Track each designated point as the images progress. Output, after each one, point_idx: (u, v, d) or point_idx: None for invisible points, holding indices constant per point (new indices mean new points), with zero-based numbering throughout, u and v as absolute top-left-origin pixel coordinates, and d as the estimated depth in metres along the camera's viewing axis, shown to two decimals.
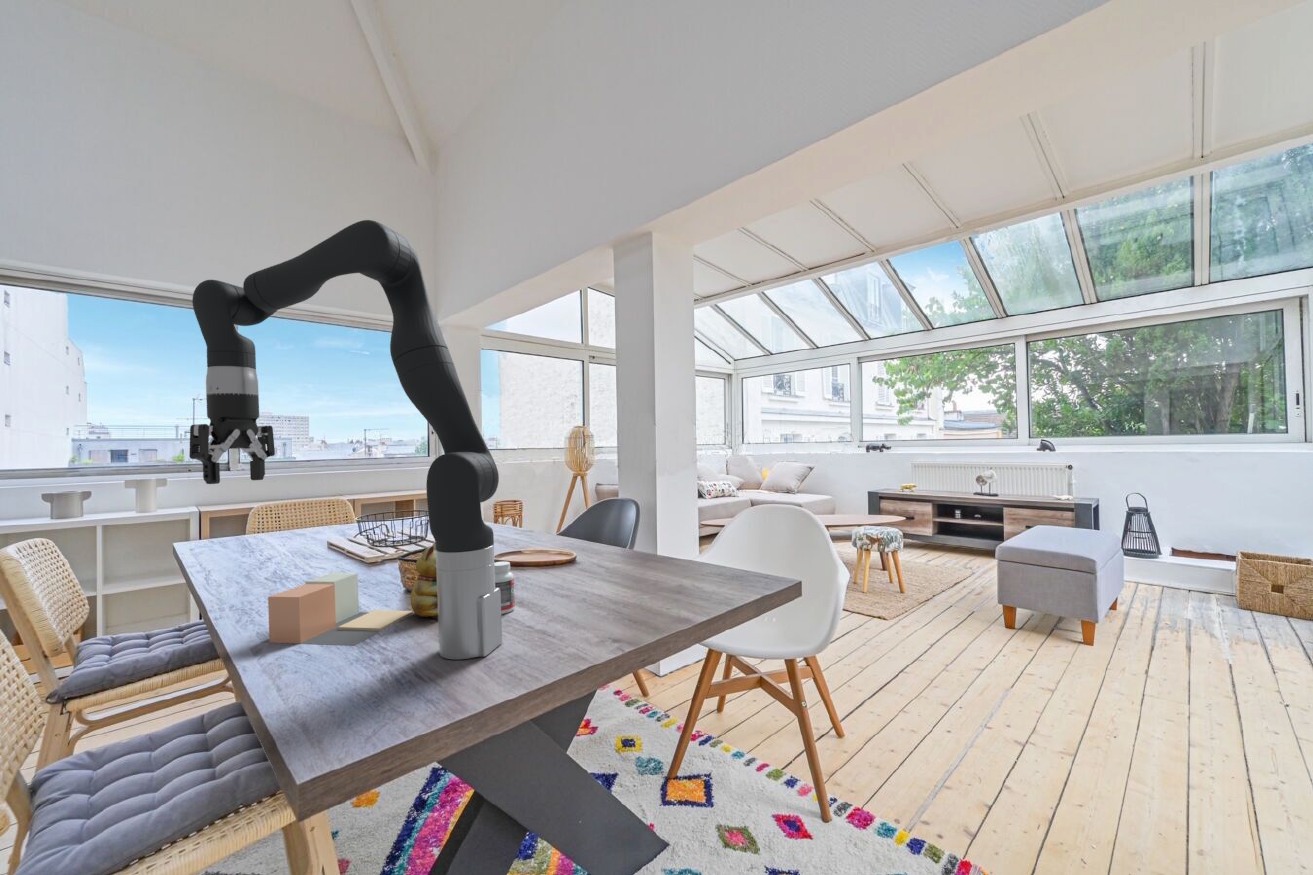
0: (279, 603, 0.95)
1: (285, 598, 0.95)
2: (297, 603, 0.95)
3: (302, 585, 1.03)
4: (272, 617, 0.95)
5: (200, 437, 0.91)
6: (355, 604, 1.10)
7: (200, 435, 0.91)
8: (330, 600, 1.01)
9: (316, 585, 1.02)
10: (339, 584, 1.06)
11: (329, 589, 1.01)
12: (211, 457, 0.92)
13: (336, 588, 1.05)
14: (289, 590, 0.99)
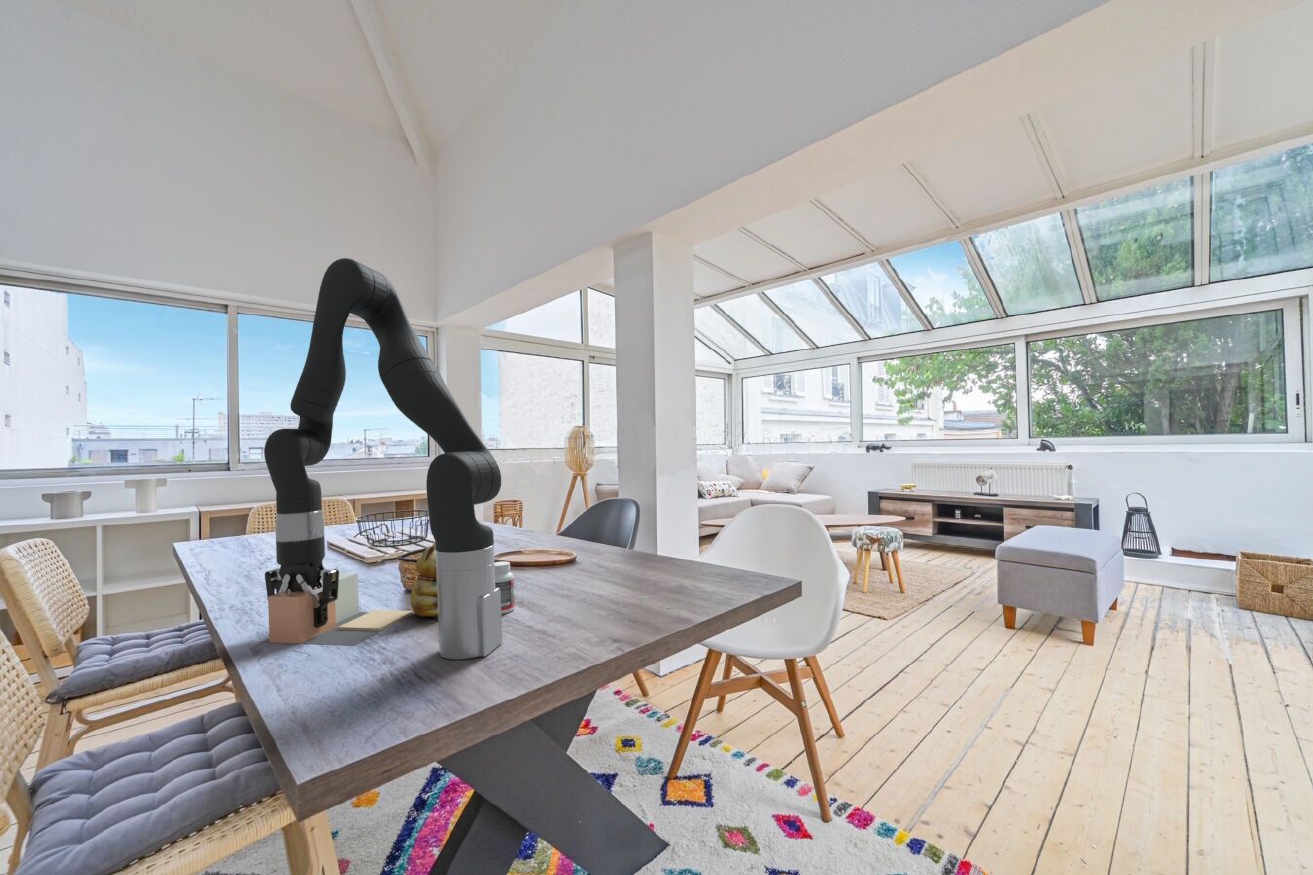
0: (279, 603, 0.95)
1: (285, 598, 0.95)
2: (297, 603, 0.95)
3: None
4: (272, 617, 0.95)
5: (337, 581, 0.99)
6: (355, 604, 1.10)
7: (337, 580, 0.99)
8: None
9: None
10: (339, 584, 1.06)
11: None
12: None
13: None
14: (289, 590, 0.99)
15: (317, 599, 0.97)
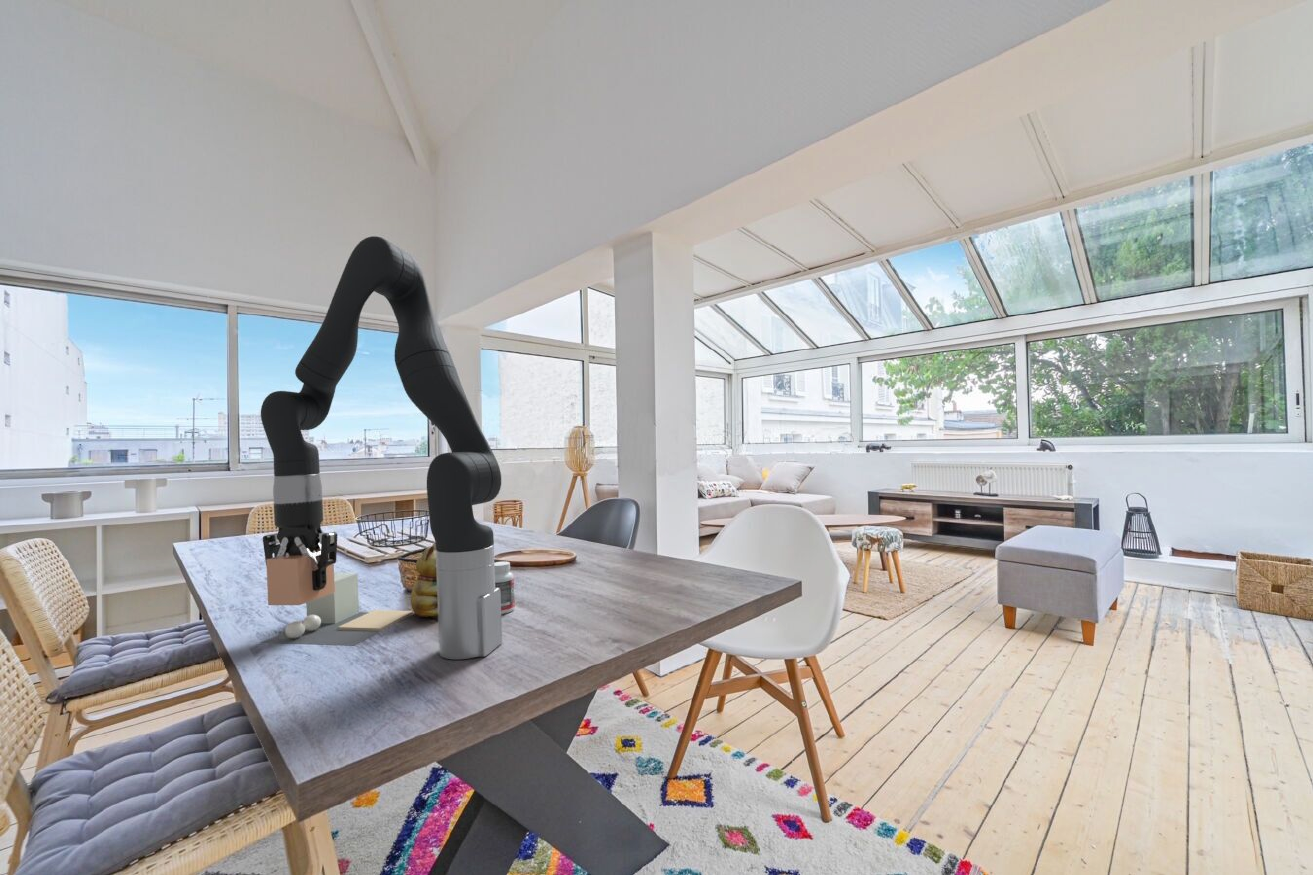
0: (277, 565, 0.95)
1: (283, 560, 0.95)
2: (296, 565, 0.94)
3: None
4: (270, 580, 0.95)
5: (335, 544, 0.99)
6: (355, 604, 1.10)
7: (335, 543, 0.99)
8: None
9: (314, 550, 1.02)
10: (339, 584, 1.06)
11: None
12: None
13: (336, 588, 1.05)
14: None
15: (316, 562, 0.97)
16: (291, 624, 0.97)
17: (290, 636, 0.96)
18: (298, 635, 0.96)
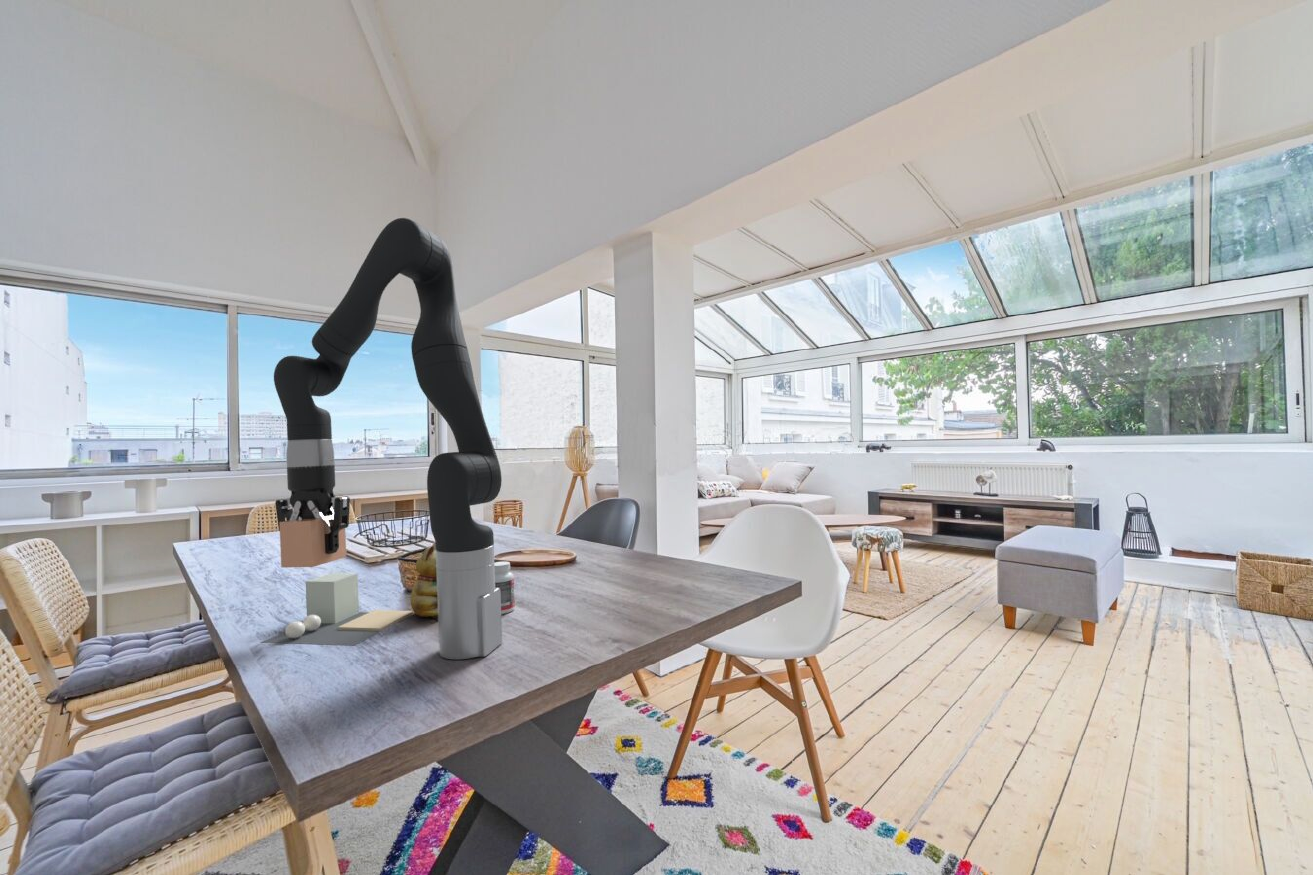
0: (291, 528, 0.96)
1: (297, 523, 0.96)
2: (309, 527, 0.95)
3: None
4: (284, 542, 0.96)
5: (348, 509, 1.00)
6: (355, 604, 1.10)
7: (348, 507, 1.00)
8: None
9: (326, 515, 1.03)
10: (339, 584, 1.06)
11: None
12: None
13: (336, 588, 1.05)
14: None
15: (328, 525, 0.98)
16: (291, 624, 0.97)
17: (290, 636, 0.96)
18: (298, 635, 0.96)
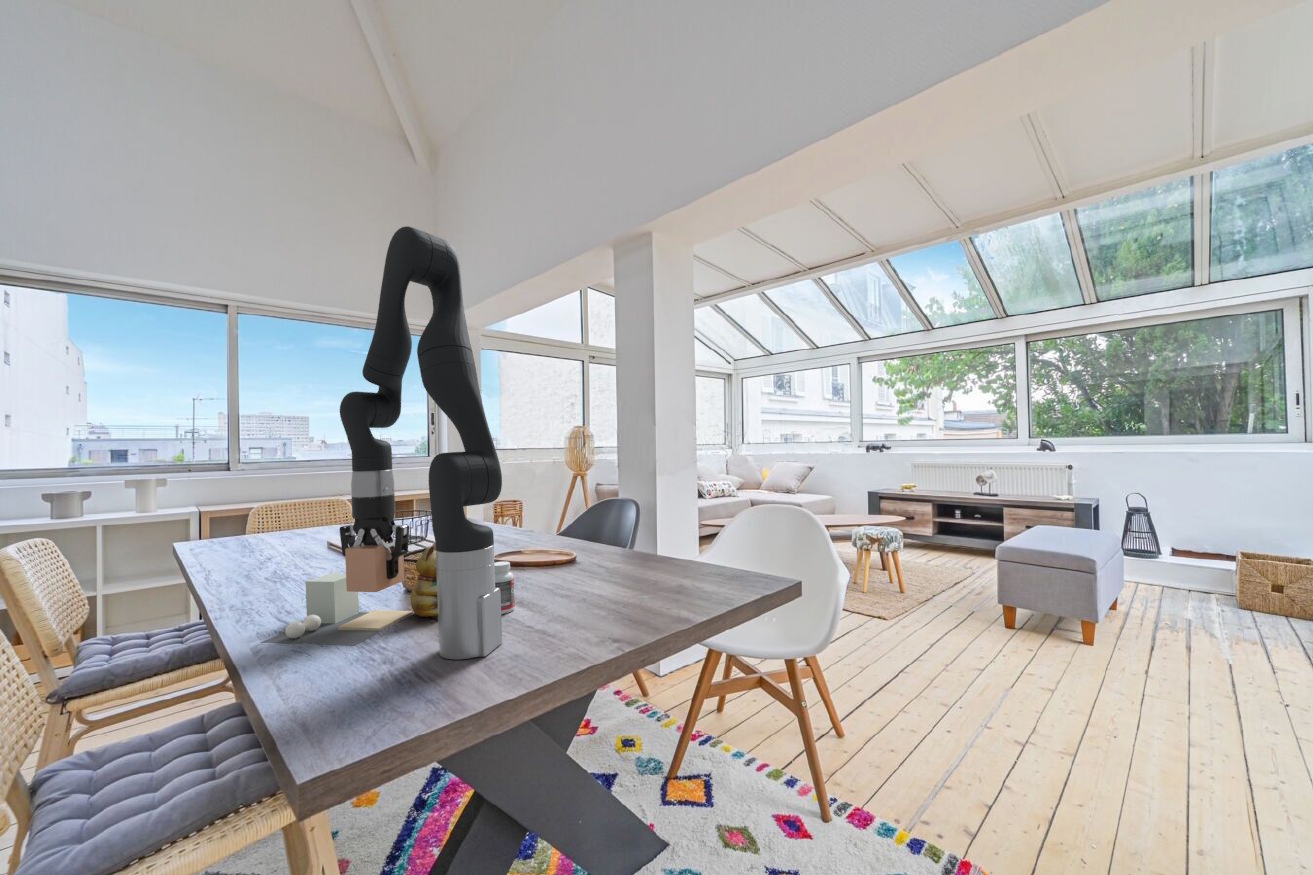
0: (356, 555, 1.01)
1: (362, 550, 1.01)
2: (373, 555, 1.01)
3: None
4: (349, 568, 1.02)
5: (407, 536, 1.05)
6: (355, 604, 1.10)
7: (407, 535, 1.05)
8: None
9: None
10: (339, 584, 1.06)
11: None
12: None
13: (336, 588, 1.05)
14: (362, 544, 1.06)
15: (390, 552, 1.04)
16: (291, 624, 0.97)
17: (290, 636, 0.96)
18: (298, 635, 0.96)
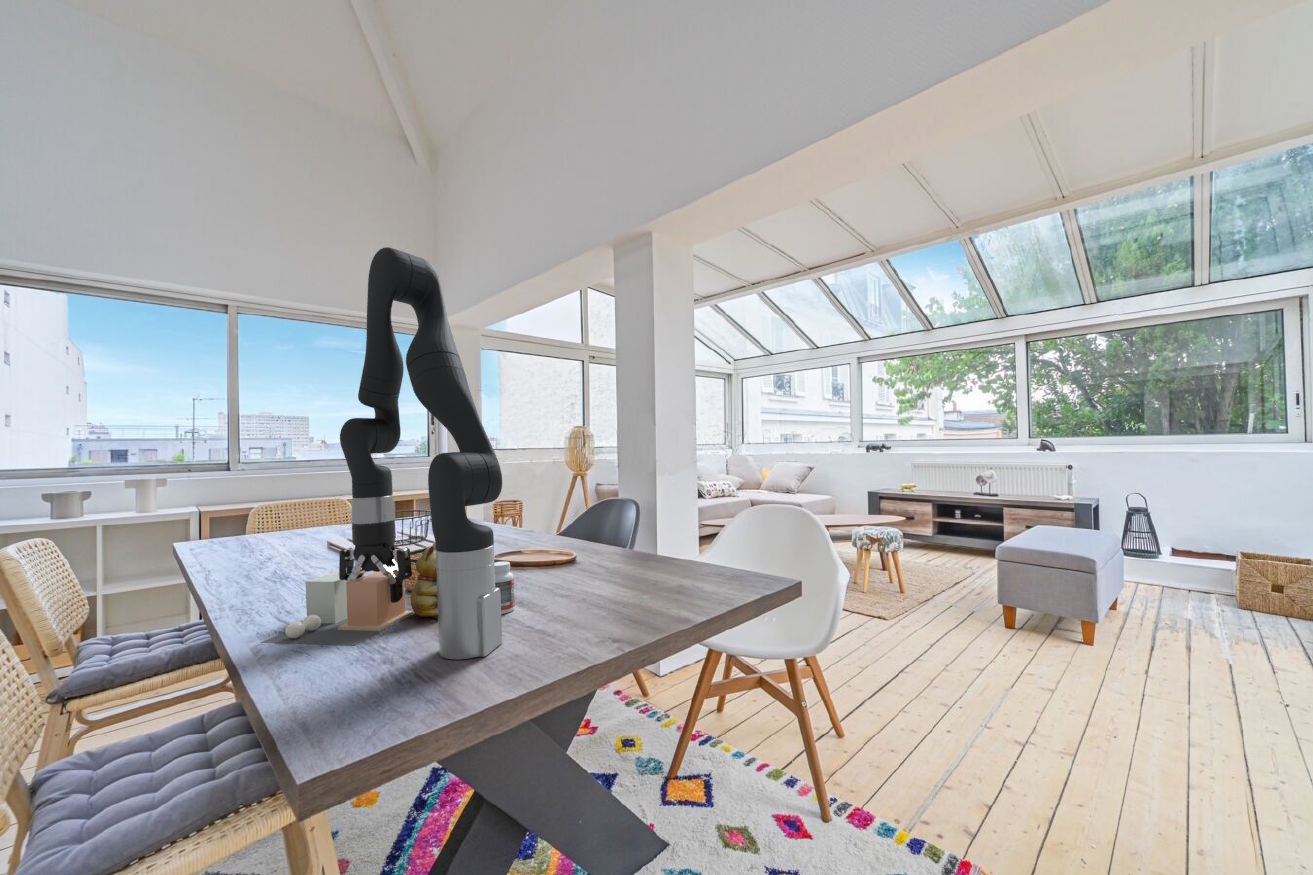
0: (357, 588, 1.01)
1: (363, 584, 1.01)
2: (374, 589, 1.01)
3: None
4: (350, 602, 1.02)
5: (409, 559, 1.05)
6: None
7: (409, 557, 1.05)
8: None
9: None
10: (339, 584, 1.06)
11: None
12: None
13: (336, 588, 1.05)
14: (363, 577, 1.05)
15: (393, 576, 1.03)
16: (291, 624, 0.97)
17: (290, 636, 0.96)
18: (298, 635, 0.96)
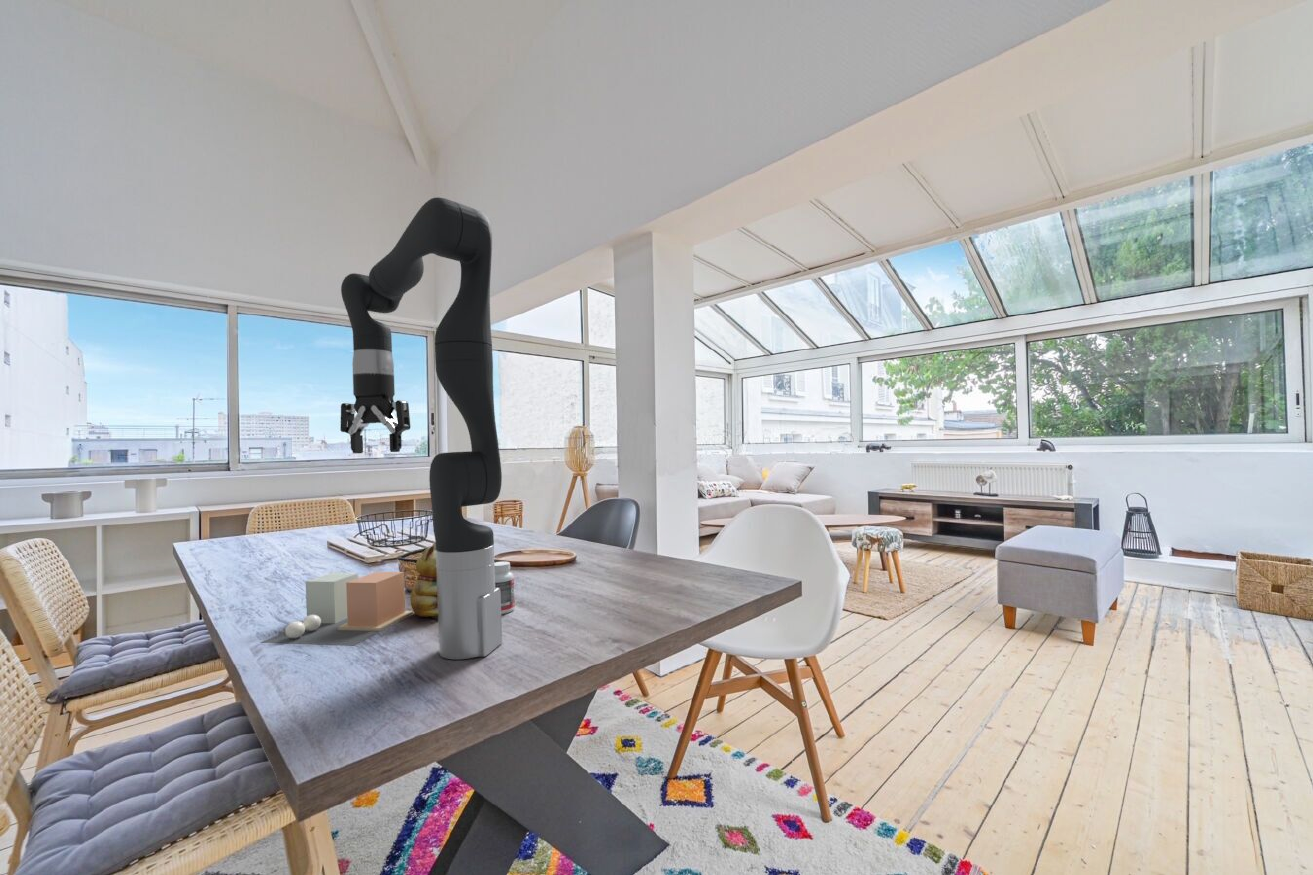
0: (357, 588, 1.01)
1: (363, 584, 1.01)
2: (374, 589, 1.01)
3: None
4: (350, 602, 1.02)
5: (408, 412, 1.09)
6: None
7: (408, 410, 1.09)
8: (400, 586, 1.08)
9: (387, 572, 1.08)
10: (339, 584, 1.06)
11: (400, 576, 1.08)
12: None
13: (336, 588, 1.05)
14: (363, 577, 1.05)
15: (392, 425, 1.08)
16: (291, 624, 0.97)
17: (290, 636, 0.96)
18: (298, 635, 0.96)
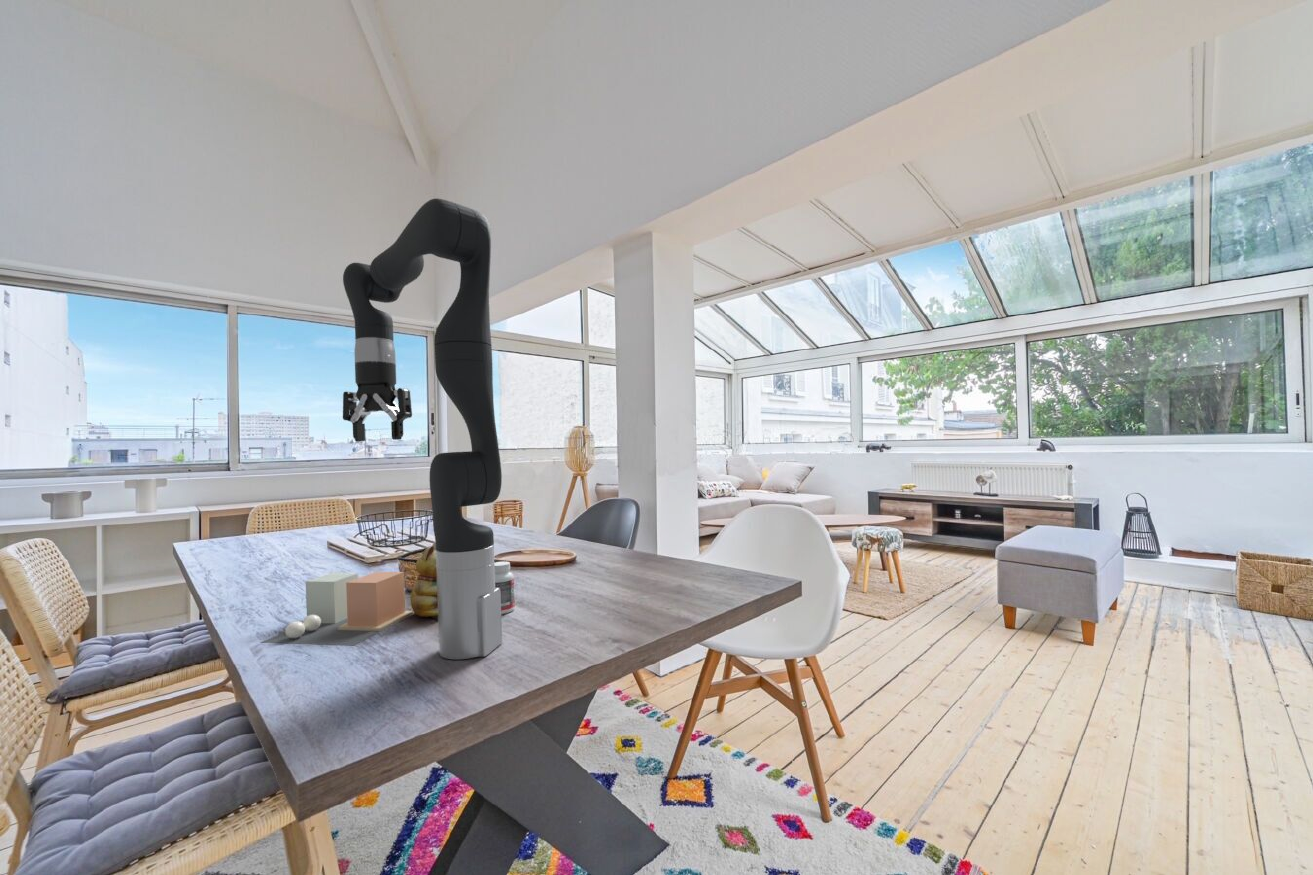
0: (357, 588, 1.01)
1: (363, 584, 1.01)
2: (374, 589, 1.01)
3: None
4: (350, 602, 1.02)
5: (409, 400, 1.10)
6: None
7: (409, 398, 1.10)
8: (400, 586, 1.08)
9: (387, 572, 1.08)
10: (339, 584, 1.06)
11: (400, 576, 1.08)
12: None
13: (336, 588, 1.05)
14: (363, 577, 1.05)
15: (394, 413, 1.09)
16: (291, 624, 0.97)
17: (290, 636, 0.96)
18: (298, 635, 0.96)
